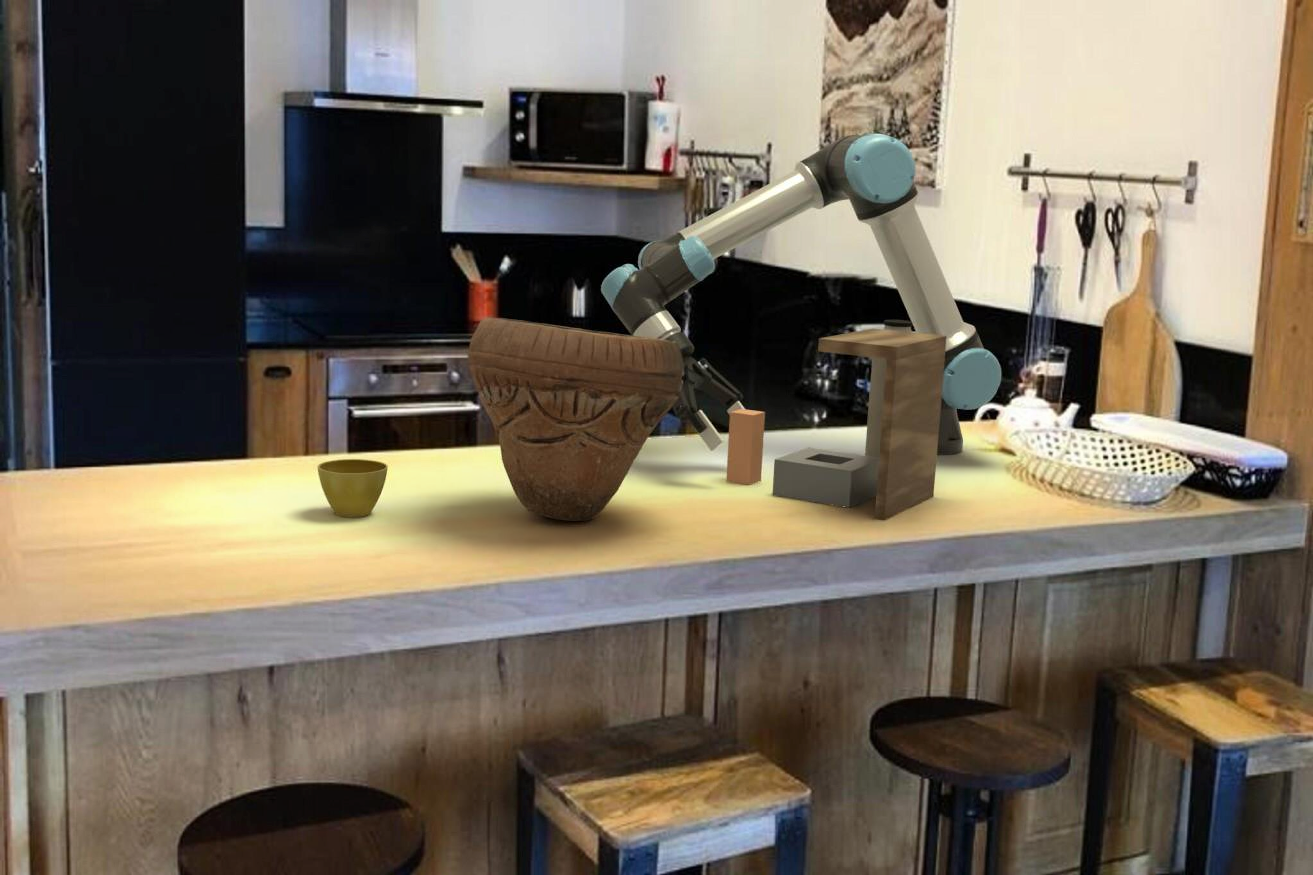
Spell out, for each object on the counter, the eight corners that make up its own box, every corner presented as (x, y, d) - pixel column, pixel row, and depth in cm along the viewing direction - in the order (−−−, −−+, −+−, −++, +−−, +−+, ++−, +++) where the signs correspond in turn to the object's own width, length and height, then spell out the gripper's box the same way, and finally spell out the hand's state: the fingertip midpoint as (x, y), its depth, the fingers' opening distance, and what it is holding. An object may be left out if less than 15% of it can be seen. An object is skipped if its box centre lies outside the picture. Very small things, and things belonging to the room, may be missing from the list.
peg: (726, 481, 252) (730, 412, 250) (738, 477, 256) (742, 408, 254) (749, 485, 250) (753, 415, 248) (760, 481, 254) (765, 412, 251)
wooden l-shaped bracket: (807, 507, 235) (818, 338, 230) (861, 484, 254) (872, 328, 249) (884, 520, 229) (897, 346, 224) (933, 496, 248) (946, 336, 243)
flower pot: (327, 523, 211) (327, 474, 210) (309, 508, 220) (309, 460, 219) (396, 518, 216) (396, 470, 214) (375, 503, 225) (376, 457, 223)
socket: (772, 495, 243) (774, 459, 242) (807, 481, 255) (809, 447, 254) (848, 507, 236) (851, 471, 235) (881, 493, 248) (883, 458, 247)
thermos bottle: (862, 472, 265) (873, 316, 259) (907, 475, 264) (919, 319, 259) (864, 482, 257) (876, 321, 252) (910, 485, 256) (923, 323, 251)
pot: (721, 521, 224) (732, 323, 218) (569, 554, 201) (577, 334, 195) (573, 483, 245) (579, 302, 240) (420, 509, 222) (424, 310, 217)
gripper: (686, 351, 269) (754, 443, 264) (612, 363, 248) (686, 464, 243) (713, 325, 265) (783, 418, 261) (641, 335, 244) (716, 436, 239)
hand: (736, 440), depth 252 cm, fingers open, 13 cm apart
